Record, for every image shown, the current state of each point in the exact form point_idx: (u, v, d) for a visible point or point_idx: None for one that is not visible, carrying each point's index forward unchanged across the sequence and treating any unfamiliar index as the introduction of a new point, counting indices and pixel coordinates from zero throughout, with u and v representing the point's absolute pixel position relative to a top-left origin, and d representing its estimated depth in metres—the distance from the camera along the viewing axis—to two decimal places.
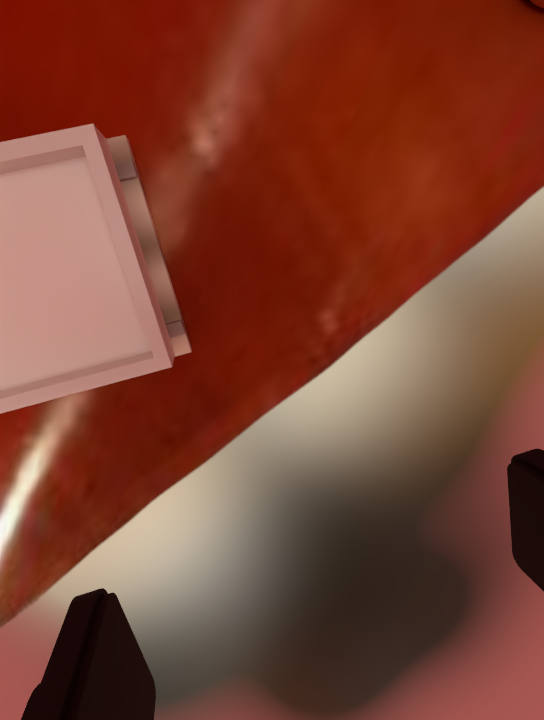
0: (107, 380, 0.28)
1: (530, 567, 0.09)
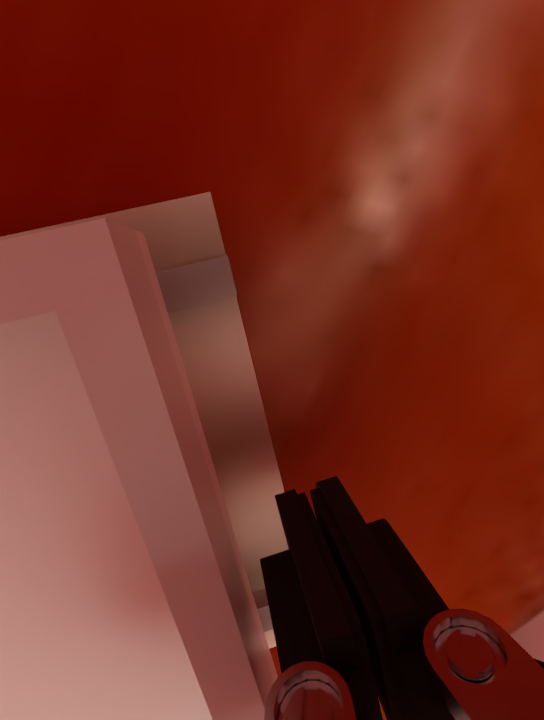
0: None
1: None
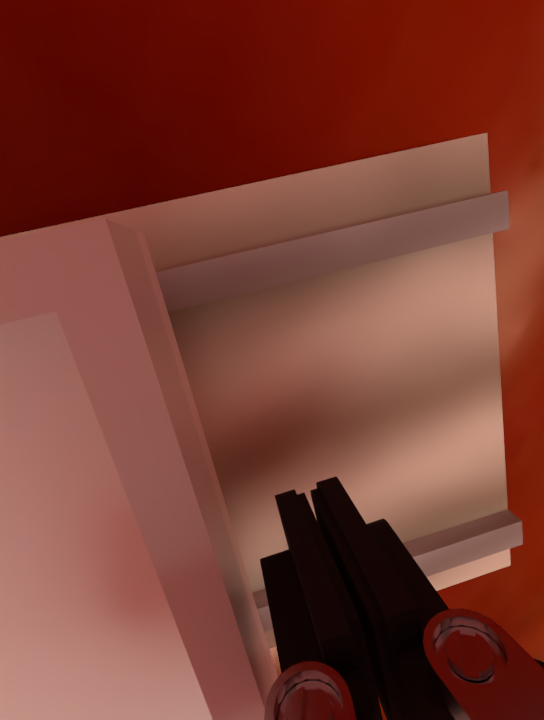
0: None
1: None
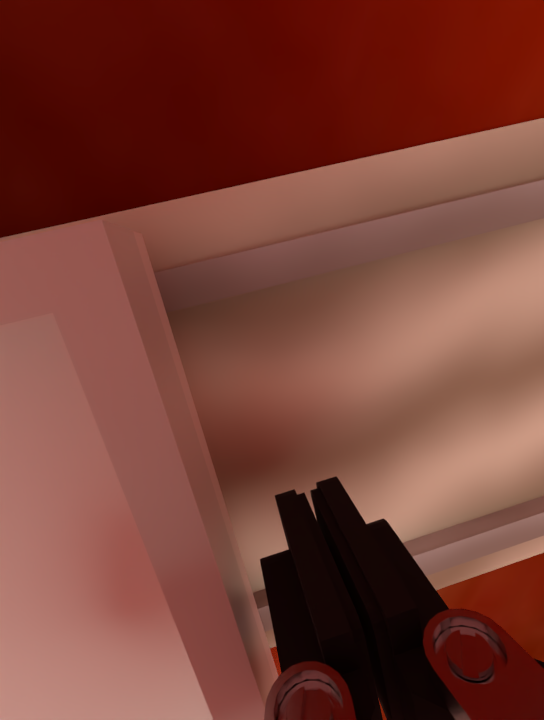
0: None
1: None
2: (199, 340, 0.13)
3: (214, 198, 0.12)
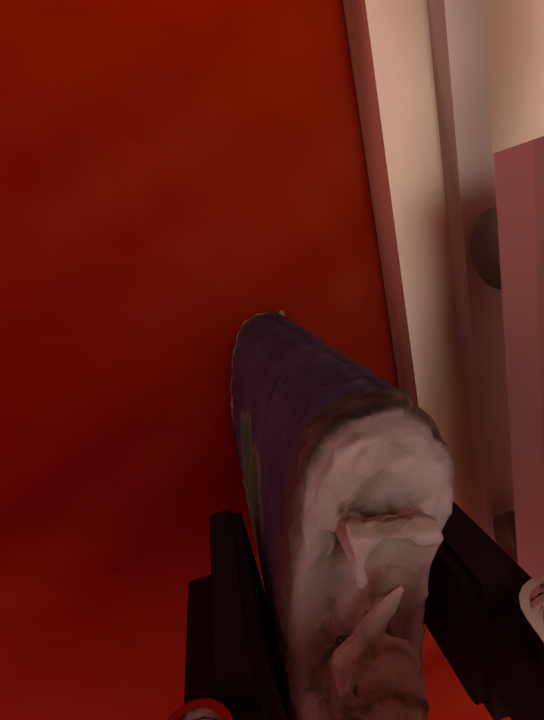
0: None
1: None
2: (508, 135, 0.13)
3: (385, 105, 0.12)
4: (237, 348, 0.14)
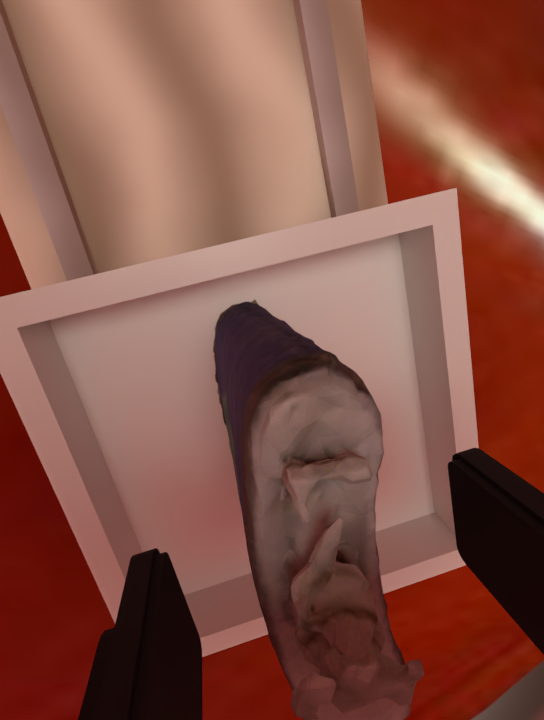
0: (461, 318, 0.15)
1: (470, 560, 0.10)
2: (121, 259, 0.19)
3: (18, 244, 0.18)
4: (216, 338, 0.15)
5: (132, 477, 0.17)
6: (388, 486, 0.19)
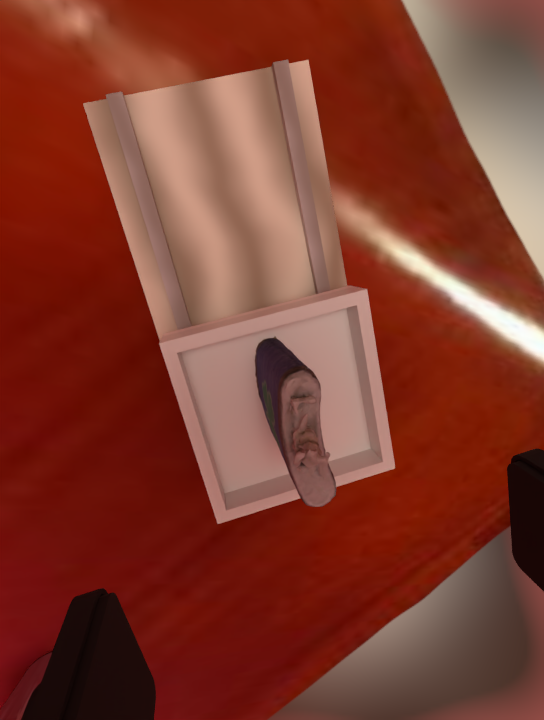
0: (372, 346, 0.31)
1: (530, 567, 0.09)
2: (201, 310, 0.35)
3: (150, 304, 0.35)
4: (257, 355, 0.32)
5: (213, 424, 0.33)
6: (344, 432, 0.36)
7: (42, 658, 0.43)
